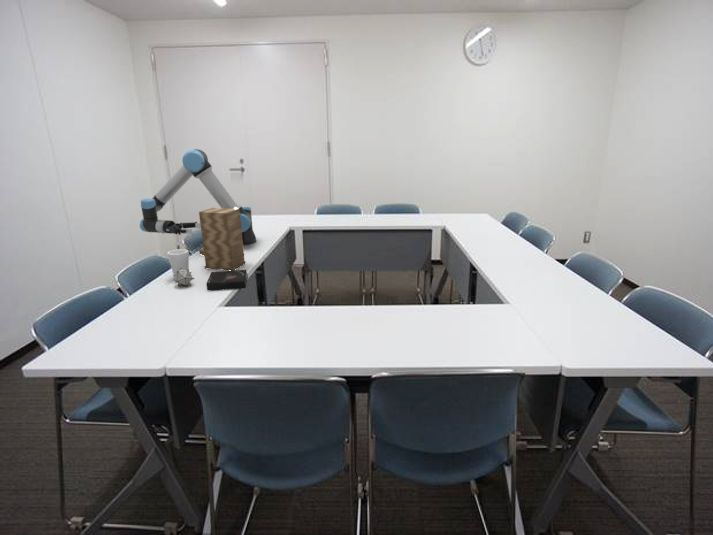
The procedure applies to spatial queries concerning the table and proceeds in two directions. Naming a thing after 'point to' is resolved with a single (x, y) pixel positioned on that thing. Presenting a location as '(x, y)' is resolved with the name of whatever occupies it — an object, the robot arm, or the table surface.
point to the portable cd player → (227, 280)
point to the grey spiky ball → (183, 277)
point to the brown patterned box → (222, 238)
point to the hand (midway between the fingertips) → (198, 228)
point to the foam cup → (179, 260)
